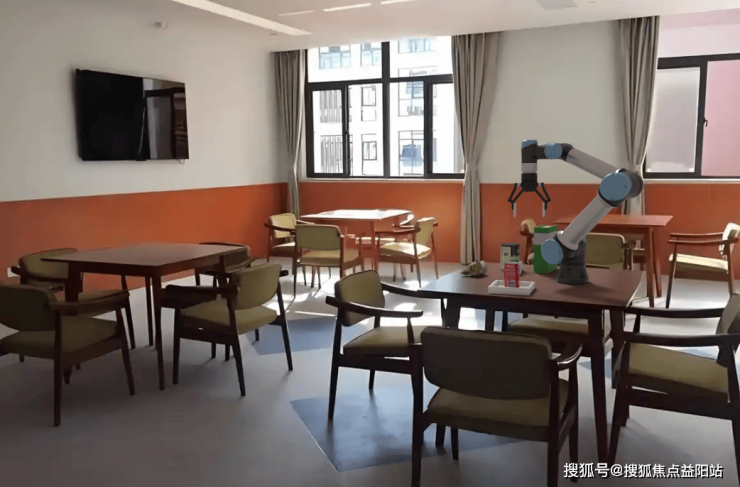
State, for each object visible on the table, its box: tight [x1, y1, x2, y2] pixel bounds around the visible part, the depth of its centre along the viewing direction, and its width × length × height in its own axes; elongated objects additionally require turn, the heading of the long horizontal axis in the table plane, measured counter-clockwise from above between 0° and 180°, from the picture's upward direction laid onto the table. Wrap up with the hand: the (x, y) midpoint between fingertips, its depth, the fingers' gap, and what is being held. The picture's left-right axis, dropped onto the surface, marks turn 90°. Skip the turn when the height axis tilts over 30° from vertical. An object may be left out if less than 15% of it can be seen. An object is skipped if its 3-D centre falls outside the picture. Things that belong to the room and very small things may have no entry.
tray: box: [487, 279, 536, 296], centre depth 299 cm, size 18×18×3 cm
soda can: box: [503, 261, 521, 288], centre depth 298 cm, size 7×7×12 cm
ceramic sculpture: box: [460, 259, 488, 277], centre depth 341 cm, size 11×9×15 cm
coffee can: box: [499, 242, 521, 271], centre depth 358 cm, size 10×10×14 cm
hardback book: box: [533, 223, 559, 274], centre depth 351 cm, size 18×7×24 cm, turn 148°
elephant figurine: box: [518, 260, 524, 276], centre depth 342 cm, size 8×10×7 cm
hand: (529, 216), depth 318 cm, fingers open, 13 cm apart
